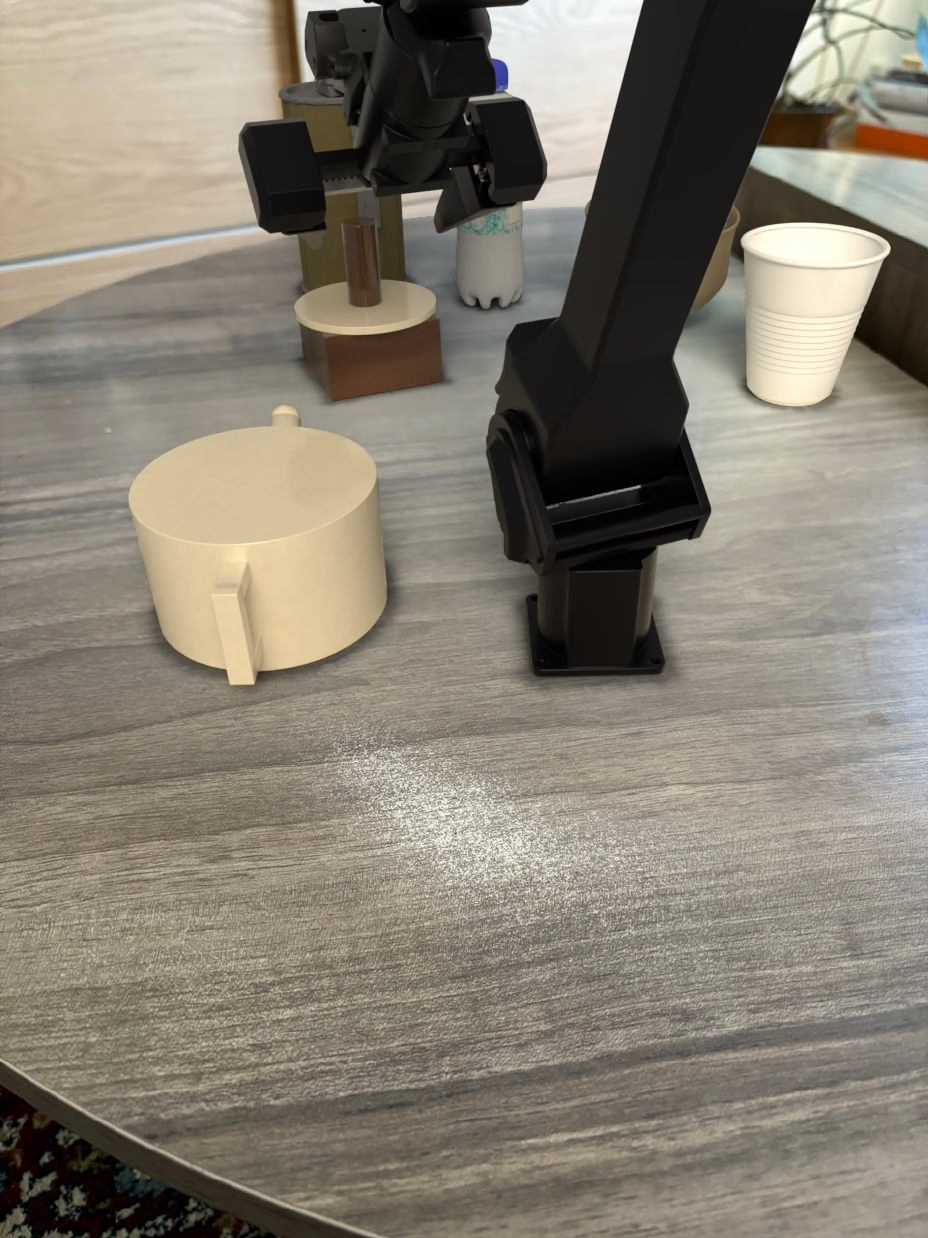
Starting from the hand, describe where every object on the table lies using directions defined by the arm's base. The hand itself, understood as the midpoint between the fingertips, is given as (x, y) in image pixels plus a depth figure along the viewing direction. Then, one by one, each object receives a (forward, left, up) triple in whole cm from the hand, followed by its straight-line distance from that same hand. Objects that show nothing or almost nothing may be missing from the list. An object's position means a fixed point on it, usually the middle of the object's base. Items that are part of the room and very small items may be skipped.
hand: (376, 234), depth 70 cm
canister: (+25, +5, -12) cm, 28 cm away
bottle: (+20, -8, -12) cm, 25 cm away
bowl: (+13, -22, -12) cm, 29 cm away
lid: (+4, +2, -7) cm, 8 cm away
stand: (+4, +2, -12) cm, 13 cm away
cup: (-2, -30, -12) cm, 33 cm away
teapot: (-28, +5, -12) cm, 31 cm away
